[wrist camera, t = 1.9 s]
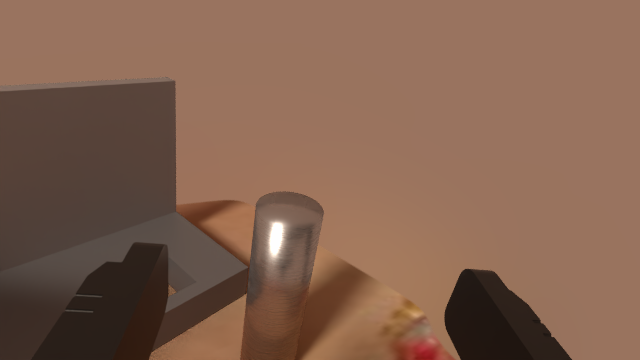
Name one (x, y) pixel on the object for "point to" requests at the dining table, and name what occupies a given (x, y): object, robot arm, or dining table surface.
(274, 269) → the rod
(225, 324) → the dining table surface
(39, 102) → the grey l-shaped stand
